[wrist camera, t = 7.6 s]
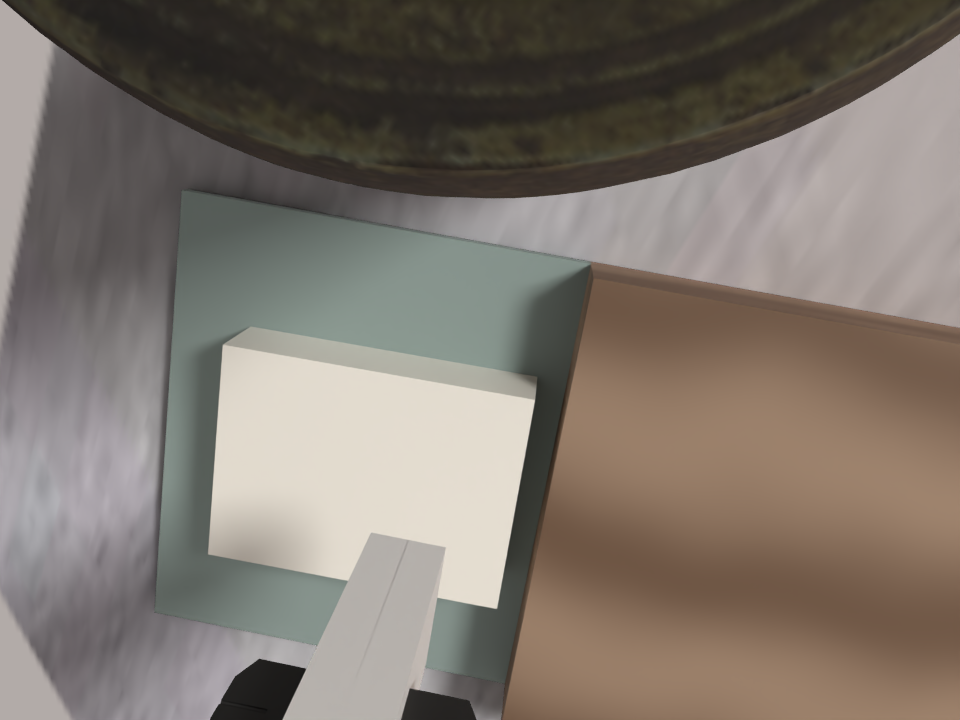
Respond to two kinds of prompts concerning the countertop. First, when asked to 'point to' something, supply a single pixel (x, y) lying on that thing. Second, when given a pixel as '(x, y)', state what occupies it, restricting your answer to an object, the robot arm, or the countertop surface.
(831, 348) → the board
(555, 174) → the container
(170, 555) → the mat
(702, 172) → the countertop surface
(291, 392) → the block
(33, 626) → the countertop surface
